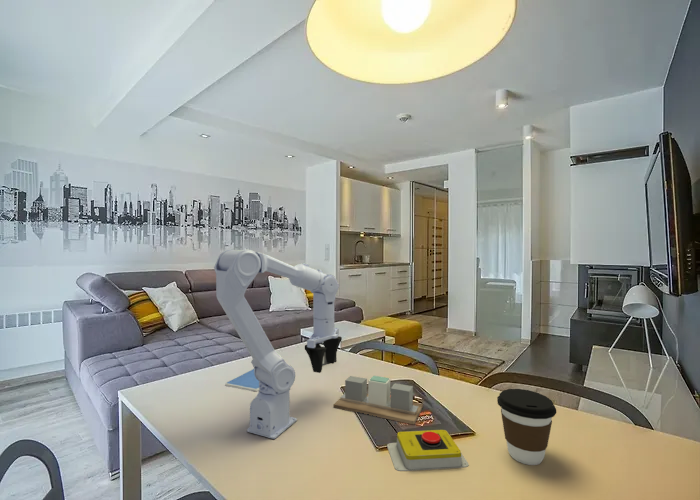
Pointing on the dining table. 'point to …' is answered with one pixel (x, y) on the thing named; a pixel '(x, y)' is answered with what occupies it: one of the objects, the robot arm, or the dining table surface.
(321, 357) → the robot arm
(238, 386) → the tablet computer
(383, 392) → the block
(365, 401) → the rail
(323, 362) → the mini dv tape
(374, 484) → the dining table surface
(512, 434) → the coffee cup
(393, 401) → the block
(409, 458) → the emergency button
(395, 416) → the board
